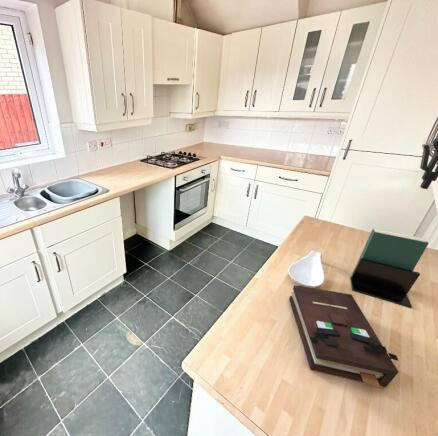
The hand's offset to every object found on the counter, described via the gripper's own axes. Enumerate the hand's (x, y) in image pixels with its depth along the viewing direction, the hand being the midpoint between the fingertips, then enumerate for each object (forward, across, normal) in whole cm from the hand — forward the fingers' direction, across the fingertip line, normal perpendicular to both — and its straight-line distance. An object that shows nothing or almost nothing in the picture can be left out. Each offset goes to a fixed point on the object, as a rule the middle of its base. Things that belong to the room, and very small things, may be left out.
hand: (423, 187), depth 98 cm
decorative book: (+30, +26, +68) cm, 79 cm away
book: (+19, +10, +30) cm, 37 cm away
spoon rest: (+30, +32, +40) cm, 59 cm away
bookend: (+29, +10, +38) cm, 49 cm away
